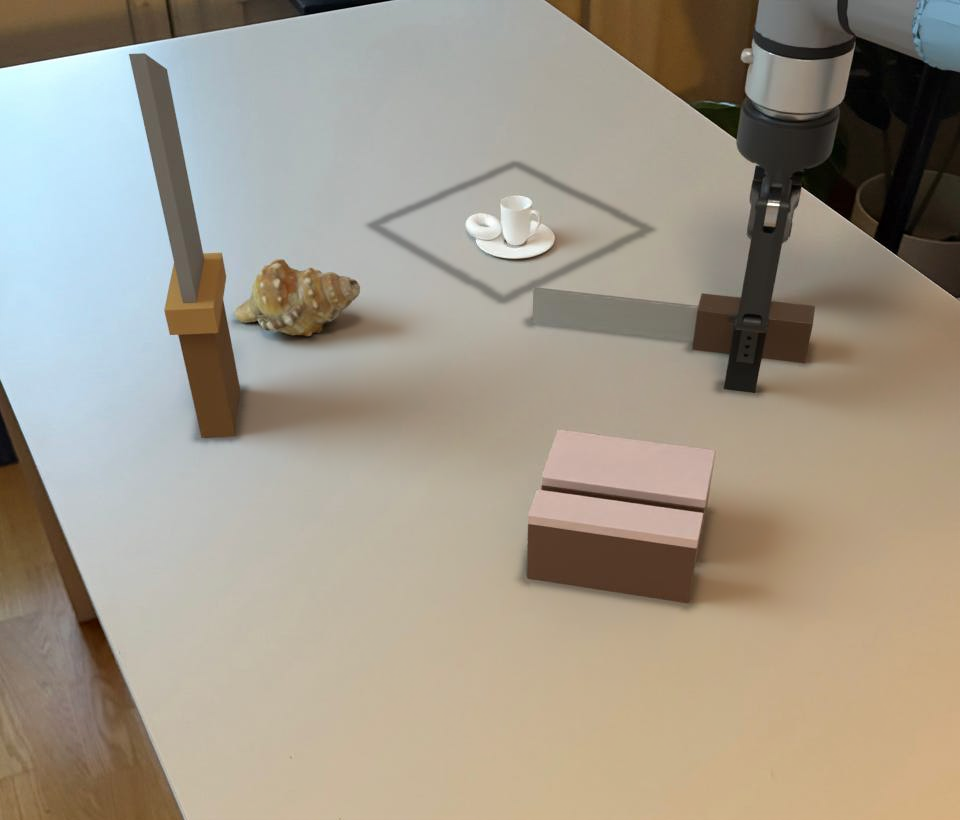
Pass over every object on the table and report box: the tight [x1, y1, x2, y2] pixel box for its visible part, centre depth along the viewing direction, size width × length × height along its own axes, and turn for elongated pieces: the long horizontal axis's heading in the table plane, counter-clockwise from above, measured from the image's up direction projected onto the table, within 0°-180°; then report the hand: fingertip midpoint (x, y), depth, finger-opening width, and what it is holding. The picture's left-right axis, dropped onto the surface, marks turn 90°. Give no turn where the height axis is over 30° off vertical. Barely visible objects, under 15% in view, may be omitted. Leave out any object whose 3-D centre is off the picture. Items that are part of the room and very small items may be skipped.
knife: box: [128, 52, 241, 439], centre depth 93 cm, size 8×4×30 cm, turn 3°
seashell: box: [234, 258, 361, 337], centre depth 111 cm, size 9×8×10 cm
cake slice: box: [526, 489, 703, 604], centre depth 88 cm, size 12×3×6 cm, turn 76°
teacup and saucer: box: [465, 195, 556, 260], centre depth 121 cm, size 9×8×4 cm
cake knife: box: [532, 286, 816, 364], centre depth 110 cm, size 25×3×4 cm, turn 76°
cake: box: [540, 429, 717, 562], centre depth 92 cm, size 12×6×6 cm, turn 76°
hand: (747, 346), depth 110 cm, fingers open, 13 cm apart
